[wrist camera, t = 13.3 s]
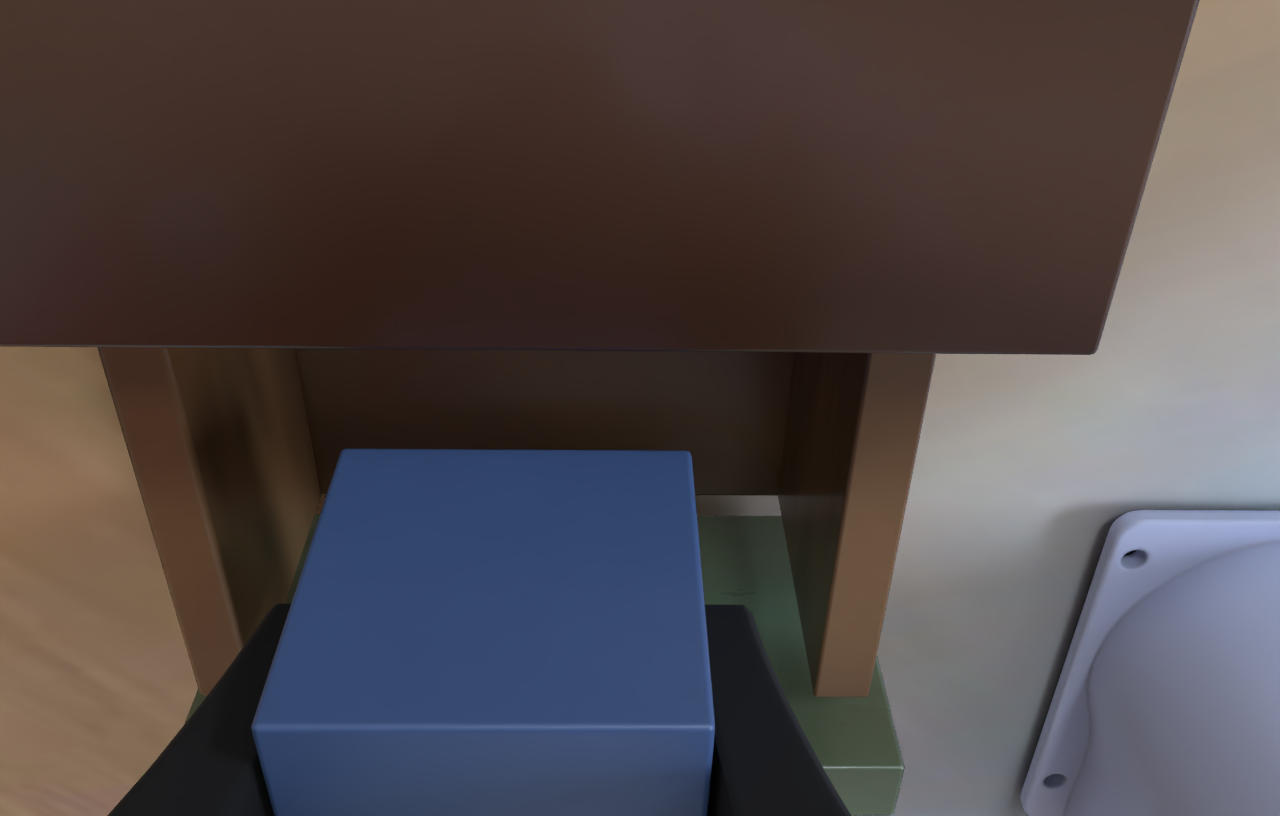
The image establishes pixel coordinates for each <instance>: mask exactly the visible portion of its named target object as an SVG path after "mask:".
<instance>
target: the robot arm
mask: <svg viewBox="0 0 1280 816" xmlns="http://www.w3.org/2000/svg"><path fill="white" fill-rule="evenodd" d="M1133 550H1137V551H1136V552H1134V553H1133V554H1131V555H1127V556H1124V554H1126V553H1128V552H1129V551H1133ZM290 606H291V604H276V605H275V606H274V607H273V608H272V609H271V610H269V611H268V613H267V614H266V616H265V617H264V619H263V620H262V621H261V623H260V624H259V626H258V627H257V629H256V630H255V631H254V633H253V634H252V636H251V637H250V638H249V640H248V641H247V643H246V644H245V645H244V647H243V648H242V650H241V651H240V652H239V654H238V655H237V657H236V658H235V659H234V661H233V662H232V663H231V665H230V666H229V667H228V669H227V670H226V672H225V673H224V674H223V676H222V677H221V678H220V680H219V681H218V682H217V684H216V685H215V686H214V687H213V689H212V690H211V691H210V693H209V694H208V695H207V697H206V698H205V699H204V701H203V702H202V703H201V705H200V706H199V707H198V708H197V710H196V711H195V712H194V713H193V715H192V716H191V717H190V718H189V720H188V721H187V722H186V723H185V725H184V726H183V727H182V728H181V730H180V731H179V732H178V733H177V735H176V736H175V737H174V738H173V740H172V741H171V742H170V743H169V745H168V746H167V747H166V748H165V750H164V751H163V752H162V753H161V755H160V756H159V757H158V758H157V760H156V761H155V762H154V763H153V764H152V766H151V767H150V768H149V769H148V770H147V771H146V773H145V774H144V775H143V776H142V777H141V778H140V779H139V781H138V782H137V783H136V784H135V785H134V786H133V787H132V788H131V790H130V791H129V792H128V793H127V794H126V795H125V796H124V798H123V799H122V800H121V801H120V802H119V803H118V804H117V806H116V807H115V808H114V809H113V810H112V811H111V812H110V813H109V815H108V816H274V813H273V809H272V805H271V801H270V798H269V794H268V790H267V786H266V783H265V779H264V775H263V771H262V768H261V764H260V760H259V756H258V753H257V749H256V745H255V741H254V738H253V734H252V729H251V726H252V723H253V720H254V717H255V713H256V710H257V707H258V704H259V701H260V698H261V695H262V692H263V689H264V686H265V683H266V680H267V677H268V674H269V670H270V667H271V664H272V661H273V658H274V655H275V652H276V649H277V646H278V643H279V640H280V637H281V634H282V631H283V628H284V624H285V621H286V618H287V615H288V612H289V609H290ZM705 615H706V626H707V637H708V649H709V660H710V672H711V683H712V695H713V706H714V718H715V736H714V748H713V759H712V771H711V783H710V794H709V806H708V816H851V814H850V812H849V811H848V809H847V807H846V806H845V804H844V803H843V801H842V799H841V798H840V796H839V794H838V793H837V791H836V789H835V788H834V786H833V784H832V782H831V781H830V779H829V777H828V775H827V774H826V772H825V770H824V768H823V767H822V765H821V763H820V761H819V759H818V757H817V755H816V754H815V752H814V750H813V748H812V746H811V744H810V743H809V741H808V739H807V737H806V735H805V733H804V731H803V730H802V728H801V726H800V724H799V722H798V720H797V718H796V716H795V714H794V712H793V710H792V708H791V706H790V704H789V702H788V700H787V698H786V695H785V693H784V691H783V689H782V687H781V685H780V683H779V680H778V678H777V676H776V674H775V672H774V669H773V667H772V665H771V662H770V660H769V658H768V655H767V653H766V650H765V648H764V645H763V643H762V640H761V637H760V634H759V632H758V629H757V626H756V623H755V620H754V616H753V613H752V612H751V611H750V610H749V609H748V608H747V607H746V606H744V605H705ZM1020 800H1021V803H1022V806H1023V809H1024V811H1025V813H1026V814H1027V815H1029V816H1280V511H1258V510H1137V511H1131V512H1128V513H1126V514H1124V515H1121V516H1120V517H1119V518H1118V519H1117V520H1115V521H1114V522H1113V524H1112V526H1111V527H1110V529H1109V532H1108V535H1107V538H1106V541H1105V544H1104V547H1103V550H1102V553H1101V556H1100V559H1099V562H1098V565H1097V568H1096V571H1095V574H1094V577H1093V580H1092V583H1091V586H1090V589H1089V592H1088V595H1087V598H1086V601H1085V604H1084V607H1083V610H1082V613H1081V616H1080V619H1079V622H1078V625H1077V627H1076V630H1075V633H1074V636H1073V639H1072V642H1071V645H1070V648H1069V651H1068V654H1067V657H1066V660H1065V663H1064V666H1063V669H1062V672H1061V675H1060V678H1059V681H1058V684H1057V687H1056V690H1055V693H1054V696H1053V699H1052V702H1051V705H1050V708H1049V711H1048V714H1047V717H1046V720H1045V723H1044V726H1043V729H1042V732H1041V735H1040V738H1039V741H1038V744H1037V747H1036V750H1035V753H1034V756H1033V759H1032V762H1031V765H1030V768H1029V771H1028V774H1027V777H1026V780H1025V783H1024V786H1023V789H1022V792H1021V795H1020Z"/></svg>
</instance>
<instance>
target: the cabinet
mask: <svg viewBox="0 0 1280 816" xmlns="http://www.w3.org/2000/svg"><path fill="white" fill-rule="evenodd" d="M1198 3H1199V0H0V346H31V347H161V348H291V349H421V350H551V351H681V352H811V353H941V354H1071V355H1091V354H1094V353H1095V352H1096V351H1097V349H1098V346H1099V342H1100V339H1101V335H1102V332H1103V329H1104V325H1105V322H1106V318H1107V315H1108V311H1109V308H1110V305H1111V301H1112V298H1113V294H1114V291H1115V288H1116V284H1117V281H1118V277H1119V274H1120V270H1121V267H1122V264H1123V260H1124V257H1125V253H1126V250H1127V246H1128V243H1129V240H1130V236H1131V233H1132V229H1133V226H1134V222H1135V219H1136V216H1137V212H1138V209H1139V205H1140V202H1141V199H1142V195H1143V192H1144V188H1145V185H1146V181H1147V178H1148V175H1149V171H1150V168H1151V164H1152V161H1153V157H1154V154H1155V151H1156V147H1157V144H1158V140H1159V137H1160V134H1161V130H1162V127H1163V123H1164V120H1165V116H1166V113H1167V110H1168V106H1169V103H1170V99H1171V96H1172V92H1173V89H1174V86H1175V82H1176V79H1177V75H1178V72H1179V69H1180V65H1181V62H1182V58H1183V55H1184V51H1185V48H1186V45H1187V41H1188V38H1189V34H1190V31H1191V27H1192V24H1193V21H1194V17H1195V14H1196V10H1197V7H1198Z"/></svg>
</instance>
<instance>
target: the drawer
mask: <svg viewBox="0 0 1280 816" xmlns="http://www.w3.org/2000/svg"><path fill="white" fill-rule="evenodd" d="M97 348H98V351H99V355H100V358H101V361H102V365H103V368H104V371H105V375H106V378H107V382H108V385H109V388H110V392H111V395H112V398H113V402H114V405H115V409H116V412H117V415H118V419H119V422H120V425H121V429H122V432H123V435H124V439H125V442H126V446H127V449H128V452H129V456H130V459H131V462H132V466H133V469H134V472H135V476H136V479H137V483H138V486H139V489H140V493H141V496H142V499H143V503H144V506H145V510H146V513H147V516H148V520H149V523H150V526H151V530H152V533H153V536H154V540H155V543H156V547H157V550H158V553H159V557H160V560H161V563H162V567H163V570H164V574H165V577H166V580H167V584H168V587H169V590H170V594H171V597H172V600H173V604H174V607H175V611H176V614H177V617H178V621H179V624H180V627H181V631H182V634H183V638H184V641H185V644H186V648H187V651H188V654H189V658H190V661H191V664H192V668H193V671H194V675H195V678H196V681H197V685H198V690H197V693H196V696H195V698H194V701H193V703H192V706H191V709H190V711H189V714H188V716H187V719H186V722H187V721H188V720H189V718H190V717H191V716H192V715H193V713H194V712H195V711H196V710H197V708H198V707H199V706H200V705H201V703H202V702H203V701H204V699H205V698H206V697H207V695H208V694H209V693H210V691H211V690H212V689H213V687H214V686H215V685H216V684H217V682H218V681H219V680H220V678H221V677H222V676H223V674H224V673H225V672H226V670H227V669H228V667H229V666H230V665H231V663H232V662H233V661H234V659H235V658H236V657H237V655H238V654H239V652H240V651H241V650H242V648H243V647H244V645H245V644H246V643H247V641H248V640H249V638H250V637H251V636H252V634H253V633H254V631H255V630H256V629H257V627H258V626H259V624H260V623H261V621H262V620H263V619H264V617H265V616H266V614H267V613H268V611H269V610H271V609H272V608H273V607H274V606H275V605H276V604H291V603H292V600H293V597H294V594H295V591H296V588H297V585H298V581H299V578H300V575H301V572H302V569H303V566H304V563H305V560H306V557H307V554H308V551H309V548H310V545H311V542H312V538H313V535H314V532H315V529H316V526H317V523H318V520H319V517H320V514H315V512H316V509H317V506H318V503H319V500H320V497H321V493H327V492H328V489H329V486H330V483H331V480H332V477H333V474H334V471H335V468H336V465H337V462H338V459H339V456H340V453H341V451H342V450H343V449H346V448H351V449H532V450H686V451H689V452H690V454H691V456H692V465H693V477H694V488H695V495H778V499H779V504H780V510H781V515H782V516H697V523H698V534H699V546H700V557H701V569H702V580H703V592H704V603H705V605H744V606H746V607H747V608H748V609H749V610H750V611H751V612H752V613H753V616H754V620H755V623H756V626H757V629H758V632H759V634H760V637H761V640H762V643H763V645H764V648H765V650H766V653H767V655H768V658H769V660H770V662H771V665H772V667H773V669H774V672H775V674H776V676H777V678H778V680H779V683H780V685H781V687H782V689H783V691H784V693H785V695H786V698H787V700H788V702H789V704H790V706H791V708H792V710H793V712H794V714H795V716H796V718H797V720H798V722H799V724H800V726H801V728H802V730H803V731H804V733H805V735H806V737H807V739H808V741H809V743H810V744H811V746H812V748H813V750H814V752H815V754H816V755H817V757H818V759H819V761H820V763H821V765H822V767H823V768H824V770H825V772H826V774H827V775H828V777H829V779H830V781H831V782H832V784H833V786H834V788H835V789H836V791H837V793H838V794H839V796H840V798H841V799H842V801H843V803H844V804H845V806H846V807H847V809H848V811H849V812H850V814H851V816H889V815H892V814H893V813H894V810H895V806H896V802H897V798H898V793H899V789H900V785H901V781H902V777H903V772H904V768H905V767H904V763H903V758H902V754H901V750H900V746H899V742H898V738H897V734H896V730H895V726H894V722H893V718H892V714H891V710H890V706H889V702H888V698H887V694H886V690H885V685H884V681H883V677H882V673H881V669H880V665H879V661H878V657H877V650H878V645H879V640H880V635H881V630H882V625H883V620H884V615H885V610H886V605H887V600H888V595H889V589H890V584H891V579H892V574H893V569H894V564H895V559H896V554H897V549H898V544H899V539H900V534H901V529H902V524H903V519H904V514H905V509H906V503H907V498H908V493H909V488H910V483H911V478H912V473H913V468H914V463H915V458H916V453H917V448H918V443H919V438H920V433H921V428H922V422H923V417H924V412H925V407H926V402H927V397H928V392H929V387H930V382H931V377H932V372H933V367H934V362H935V357H936V353H811V352H681V351H551V350H421V349H291V348H161V347H97ZM186 722H185V723H186ZM184 725H185V724H184Z"/></svg>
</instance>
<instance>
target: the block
mask: <svg viewBox="0 0 1280 816" xmlns="http://www.w3.org/2000/svg"><path fill="white" fill-rule="evenodd" d="M251 729H252V734H253V738H254V741H255V745H256V749H257V753H258V756H259V760H260V764H261V768H262V771H263V775H264V779H265V783H266V786H267V790H268V794H269V798H270V801H271V805H272V809H273V813H274V816H708V806H709V794H710V783H711V771H712V759H713V748H714V736H715V718H714V706H713V695H712V683H711V672H710V660H709V649H708V637H707V626H706V615H705V603H704V592H703V580H702V569H701V557H700V546H699V534H698V523H697V511H696V500H695V488H694V477H693V465H692V456H691V454H690V452H689V451H686V450H532V449H351V448H346V449H343V450H342V451H341V453H340V456H339V459H338V462H337V465H336V468H335V471H334V474H333V477H332V480H331V483H330V486H329V489H328V492H327V496H326V499H325V502H324V505H323V508H322V511H321V514H320V517H319V520H318V523H317V526H316V529H315V532H314V535H313V538H312V542H311V545H310V548H309V551H308V554H307V557H306V560H305V563H304V566H303V569H302V572H301V575H300V578H299V581H298V585H297V588H296V591H295V594H294V597H293V600H292V603H291V606H290V609H289V612H288V615H287V618H286V621H285V624H284V628H283V631H282V634H281V637H280V640H279V643H278V646H277V649H276V652H275V655H274V658H273V661H272V664H271V667H270V670H269V674H268V677H267V680H266V683H265V686H264V689H263V692H262V695H261V698H260V701H259V704H258V707H257V710H256V713H255V717H254V720H253V723H252V726H251Z"/></svg>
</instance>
